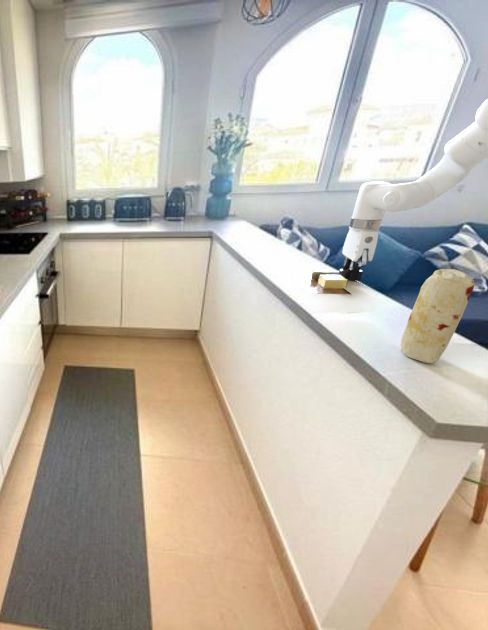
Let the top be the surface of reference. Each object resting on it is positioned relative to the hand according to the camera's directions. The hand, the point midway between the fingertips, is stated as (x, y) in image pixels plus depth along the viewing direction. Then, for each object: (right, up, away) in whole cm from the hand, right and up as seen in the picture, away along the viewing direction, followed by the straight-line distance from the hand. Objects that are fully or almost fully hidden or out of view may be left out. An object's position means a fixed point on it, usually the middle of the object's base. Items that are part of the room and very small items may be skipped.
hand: (348, 278), depth 116 cm
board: (-10, -4, -1) cm, 10 cm away
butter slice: (-6, 0, +3) cm, 7 cm away
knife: (-3, 0, +1) cm, 3 cm away
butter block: (-8, -3, -3) cm, 9 cm away
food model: (-15, -22, -37) cm, 46 cm away
